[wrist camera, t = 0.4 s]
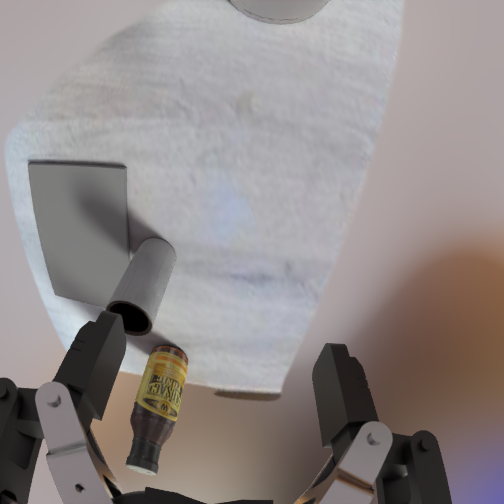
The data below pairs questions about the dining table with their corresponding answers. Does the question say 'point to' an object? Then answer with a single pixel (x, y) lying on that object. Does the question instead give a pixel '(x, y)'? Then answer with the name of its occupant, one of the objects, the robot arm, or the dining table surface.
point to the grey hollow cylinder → (143, 286)
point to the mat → (82, 227)
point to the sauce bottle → (156, 407)
